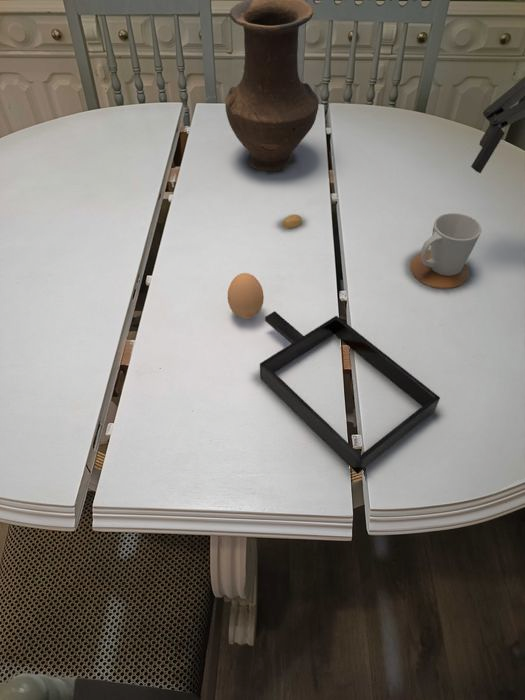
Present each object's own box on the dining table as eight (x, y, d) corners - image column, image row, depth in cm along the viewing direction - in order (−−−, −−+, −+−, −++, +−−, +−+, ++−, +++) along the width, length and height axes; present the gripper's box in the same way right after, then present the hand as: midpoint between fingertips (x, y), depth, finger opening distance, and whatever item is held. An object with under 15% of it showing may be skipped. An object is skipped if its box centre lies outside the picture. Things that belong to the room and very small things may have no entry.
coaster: (480, 272, 93) (480, 270, 93) (443, 297, 89) (444, 295, 89) (435, 245, 99) (435, 243, 98) (398, 267, 95) (398, 265, 94)
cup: (476, 272, 93) (491, 232, 86) (429, 289, 90) (441, 249, 84) (449, 247, 97) (461, 208, 91) (403, 263, 95) (412, 223, 88)
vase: (218, 178, 115) (205, 23, 92) (241, 135, 127) (234, -11, 104) (306, 188, 112) (314, 30, 89) (321, 143, 124) (332, -6, 101)
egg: (239, 298, 90) (236, 259, 84) (269, 308, 89) (269, 269, 82) (223, 320, 87) (218, 282, 81) (254, 331, 85) (253, 292, 79)
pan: (434, 412, 74) (440, 397, 72) (357, 474, 68) (360, 460, 66) (305, 307, 89) (306, 291, 86) (232, 350, 83) (230, 335, 80)
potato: (304, 224, 104) (304, 216, 102) (286, 230, 102) (286, 222, 101) (297, 217, 105) (298, 209, 104) (280, 223, 104) (280, 215, 103)
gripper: (707, 77, 68) (600, 227, 75) (530, 32, 82) (453, 163, 89) (708, 50, 62) (592, 216, 70) (518, 7, 76) (436, 149, 83)
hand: (514, 187), depth 79 cm, fingers open, 13 cm apart
